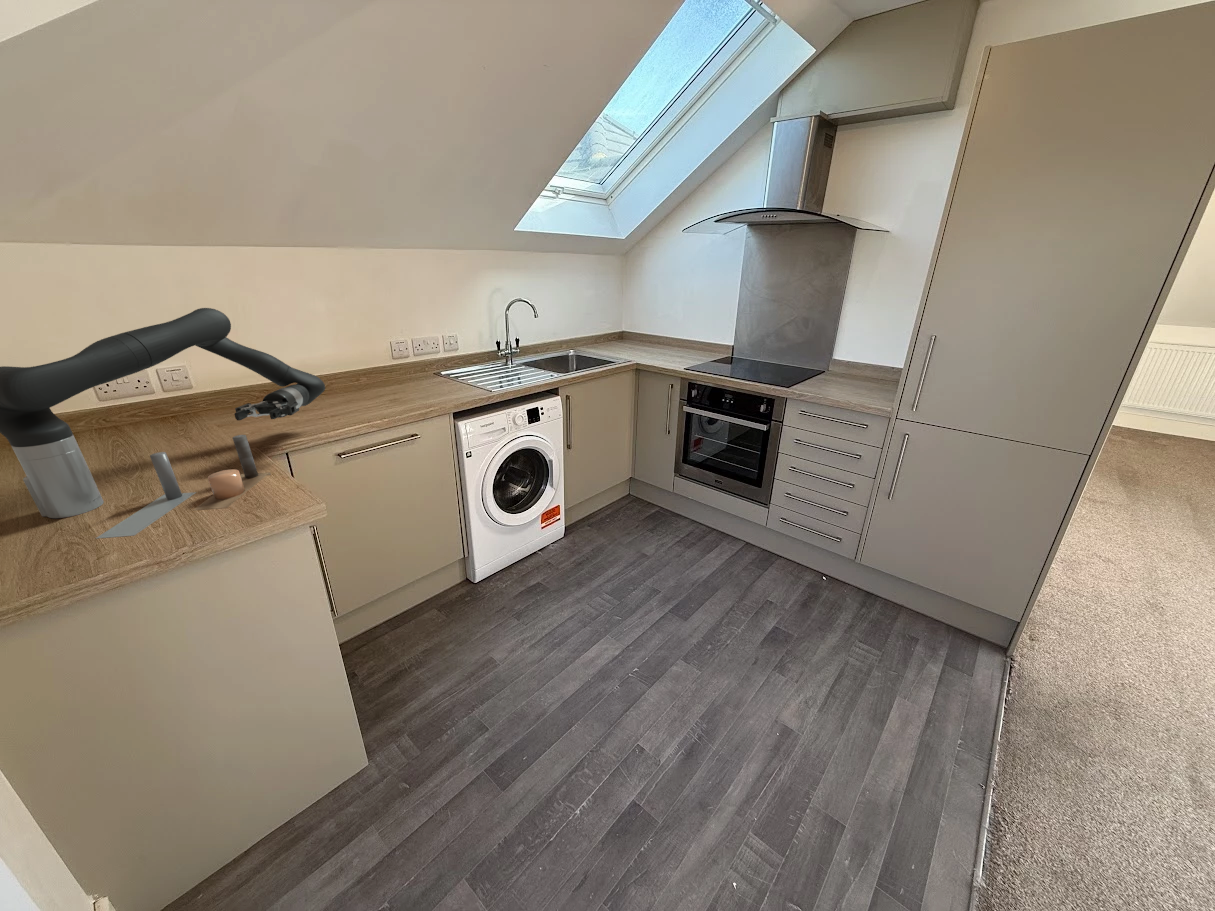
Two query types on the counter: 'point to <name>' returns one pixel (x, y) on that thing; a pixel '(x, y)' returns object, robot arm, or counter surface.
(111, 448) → the counter surface
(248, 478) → the peg on wooden base
